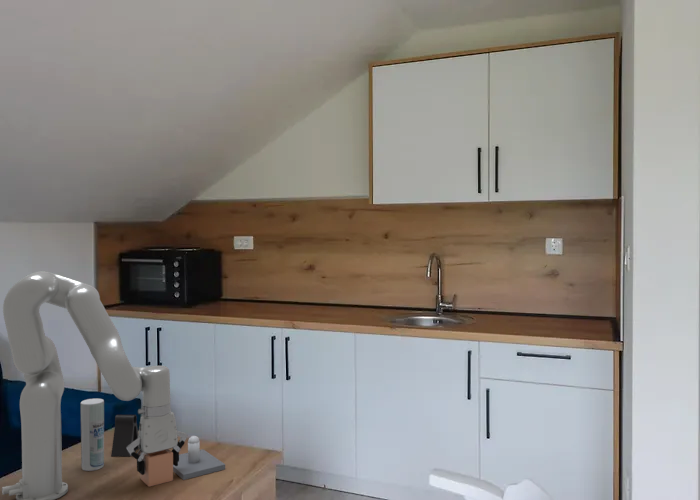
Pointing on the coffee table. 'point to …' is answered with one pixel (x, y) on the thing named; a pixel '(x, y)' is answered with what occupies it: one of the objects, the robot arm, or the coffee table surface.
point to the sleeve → (158, 468)
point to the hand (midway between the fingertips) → (158, 468)
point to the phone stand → (124, 434)
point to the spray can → (92, 434)
